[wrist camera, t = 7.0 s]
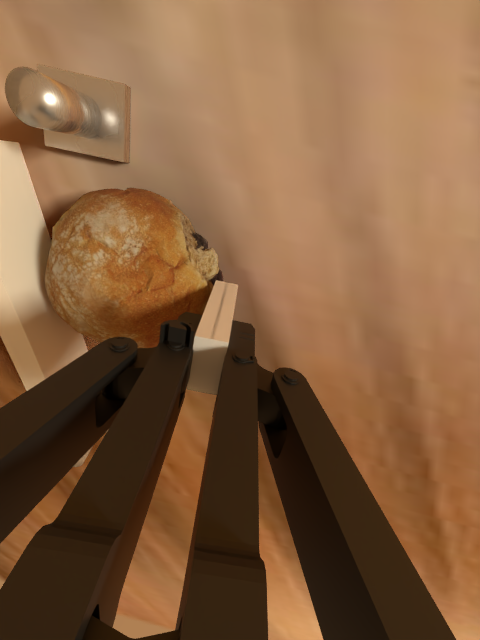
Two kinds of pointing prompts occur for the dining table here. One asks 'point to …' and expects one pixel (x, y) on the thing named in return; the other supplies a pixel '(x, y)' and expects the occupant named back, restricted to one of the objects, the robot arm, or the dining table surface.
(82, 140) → the grey small pieces
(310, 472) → the robot arm
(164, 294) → the bread roll
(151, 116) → the dining table surface
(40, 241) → the gate
